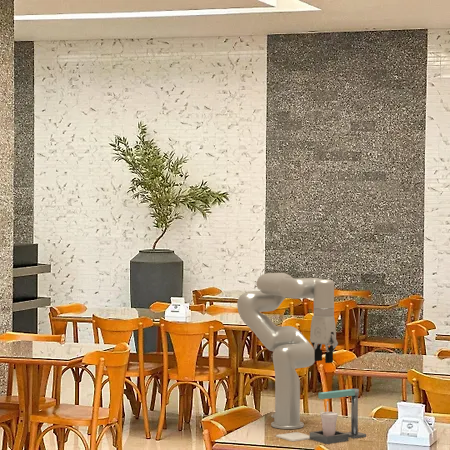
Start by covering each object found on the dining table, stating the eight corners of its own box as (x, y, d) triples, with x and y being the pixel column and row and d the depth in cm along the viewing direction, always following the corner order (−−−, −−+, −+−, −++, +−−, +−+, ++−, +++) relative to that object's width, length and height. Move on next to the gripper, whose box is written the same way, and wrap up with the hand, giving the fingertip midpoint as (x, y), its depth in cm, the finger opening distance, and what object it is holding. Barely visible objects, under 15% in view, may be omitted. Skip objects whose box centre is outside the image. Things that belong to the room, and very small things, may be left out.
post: (342, 435, 371) (343, 395, 371) (355, 433, 374) (355, 393, 374) (353, 438, 366) (353, 397, 366) (366, 436, 369) (366, 396, 369)
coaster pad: (275, 436, 369) (275, 435, 369) (297, 433, 375) (297, 432, 375) (291, 441, 361) (291, 439, 361) (313, 438, 366) (313, 436, 366)
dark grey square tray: (309, 439, 365) (309, 432, 365) (331, 435, 371) (331, 429, 371) (326, 444, 357) (326, 437, 357) (348, 440, 362) (348, 433, 362)
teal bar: (355, 393, 372) (355, 388, 372) (360, 394, 370) (360, 389, 370) (317, 398, 363) (317, 392, 363) (323, 399, 360) (323, 393, 360)
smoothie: (318, 438, 367) (318, 399, 367) (336, 437, 367) (336, 399, 367) (321, 442, 360) (321, 403, 360) (339, 441, 361) (339, 402, 361)
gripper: (301, 311, 376) (301, 359, 376) (330, 315, 362) (330, 365, 362) (317, 310, 381) (317, 358, 380) (346, 314, 366) (346, 363, 366)
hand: (323, 361), depth 371 cm, fingers open, 5 cm apart
